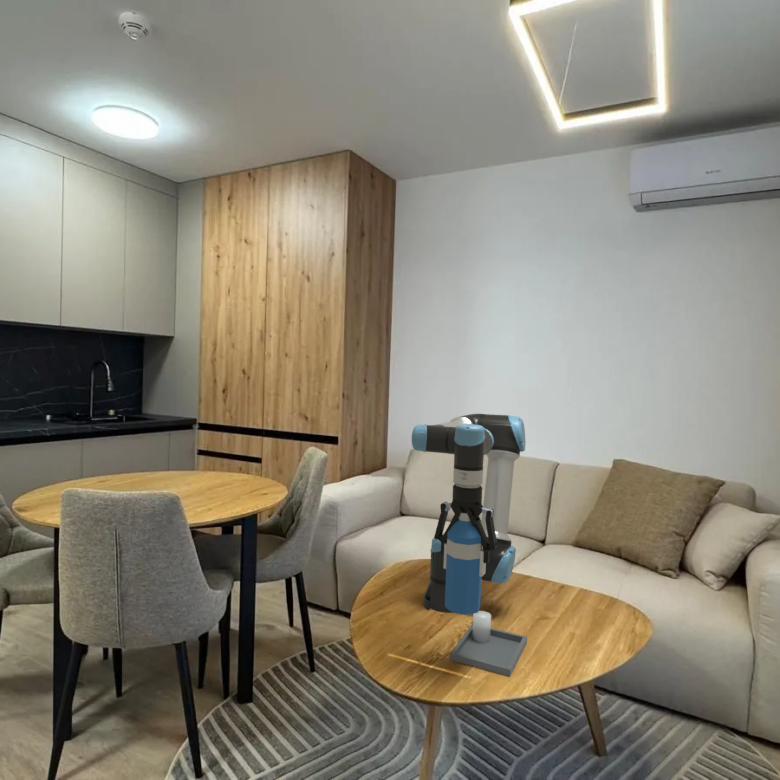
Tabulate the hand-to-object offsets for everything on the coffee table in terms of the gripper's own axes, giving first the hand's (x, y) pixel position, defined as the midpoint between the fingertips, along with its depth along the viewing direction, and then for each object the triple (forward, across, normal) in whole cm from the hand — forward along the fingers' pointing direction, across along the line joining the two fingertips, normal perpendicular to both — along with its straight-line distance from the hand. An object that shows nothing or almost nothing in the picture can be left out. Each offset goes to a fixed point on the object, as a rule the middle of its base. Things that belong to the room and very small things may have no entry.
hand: (464, 570), depth 144 cm
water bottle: (+10, 0, 0) cm, 10 cm away
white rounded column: (+24, +1, +15) cm, 29 cm away
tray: (+25, +5, +10) cm, 27 cm away
